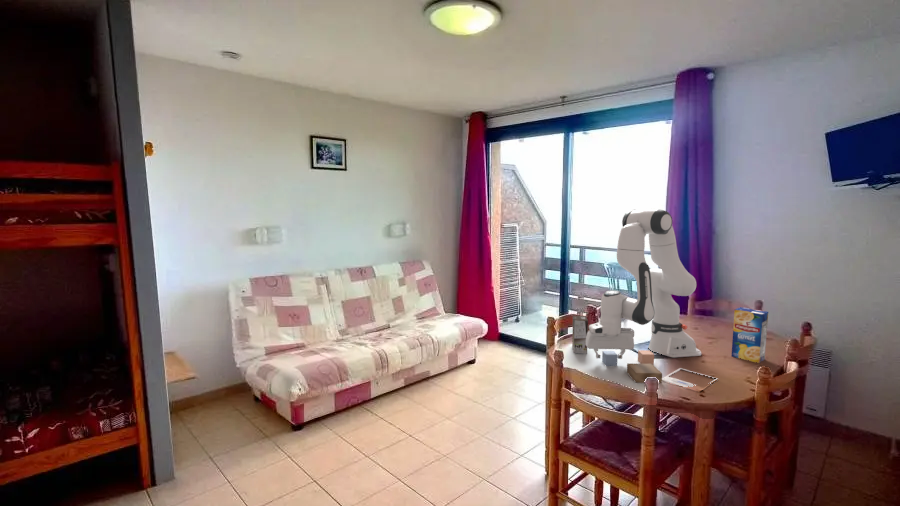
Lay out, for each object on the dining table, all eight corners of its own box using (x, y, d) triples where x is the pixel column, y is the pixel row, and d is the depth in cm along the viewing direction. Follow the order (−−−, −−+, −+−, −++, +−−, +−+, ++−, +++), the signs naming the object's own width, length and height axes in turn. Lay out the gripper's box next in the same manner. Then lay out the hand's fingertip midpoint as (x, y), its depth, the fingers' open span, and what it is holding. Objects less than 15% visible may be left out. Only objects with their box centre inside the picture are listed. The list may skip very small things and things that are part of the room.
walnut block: (651, 372, 179) (651, 363, 179) (661, 382, 169) (662, 373, 169) (626, 372, 180) (627, 363, 179) (635, 382, 170) (636, 373, 169)
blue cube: (613, 361, 192) (613, 351, 192) (617, 366, 187) (617, 355, 187) (602, 361, 193) (602, 350, 192) (605, 365, 188) (605, 354, 187)
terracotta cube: (649, 361, 192) (649, 350, 192) (653, 365, 187) (654, 354, 187) (637, 361, 193) (638, 350, 192) (642, 365, 188) (642, 354, 187)
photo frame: (660, 378, 172) (679, 367, 183) (660, 381, 172) (679, 370, 183) (699, 391, 160) (718, 378, 172) (699, 393, 160) (717, 380, 172)
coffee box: (587, 353, 202) (588, 320, 200) (573, 353, 204) (574, 320, 202) (585, 347, 211) (586, 315, 209) (571, 346, 212) (572, 315, 210)
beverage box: (759, 363, 188) (763, 314, 185) (731, 356, 197) (734, 309, 194) (764, 359, 192) (768, 311, 189) (737, 352, 201) (740, 307, 198)
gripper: (631, 326, 190) (630, 356, 192) (585, 325, 192) (584, 355, 193) (637, 330, 184) (635, 361, 186) (588, 329, 185) (587, 360, 187)
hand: (609, 358), depth 189 cm, fingers open, 8 cm apart
